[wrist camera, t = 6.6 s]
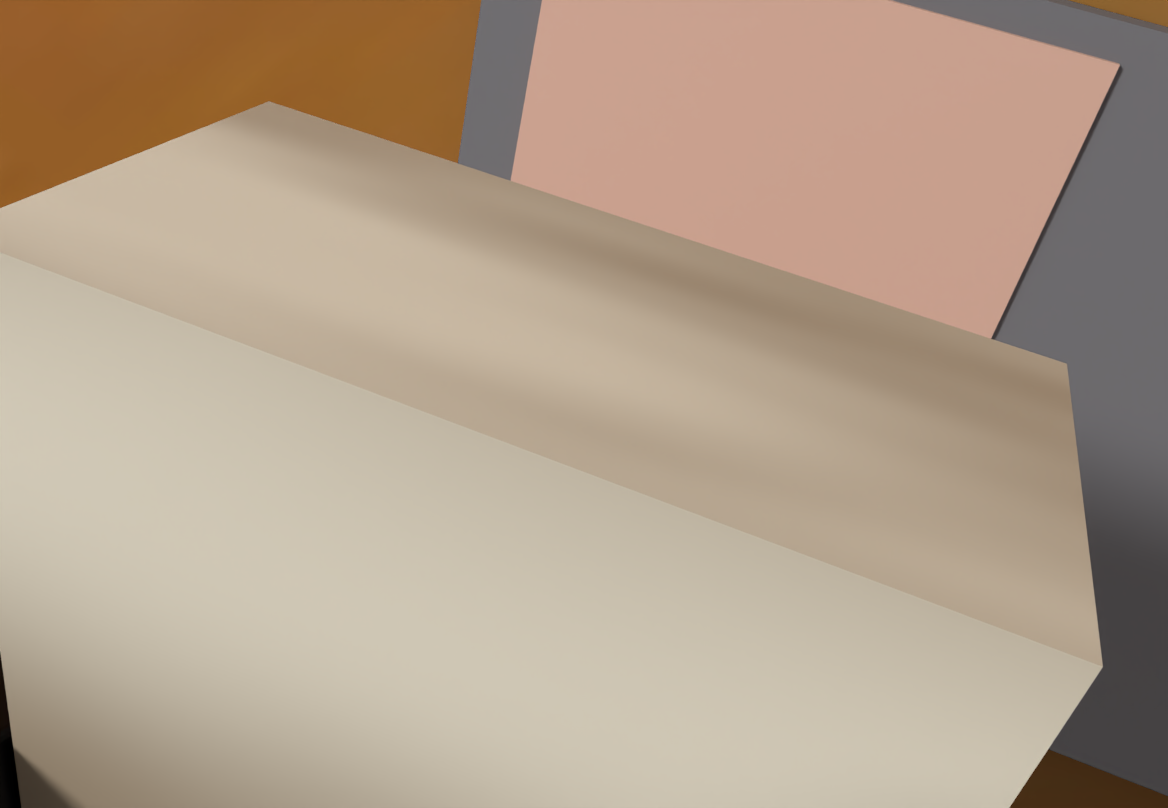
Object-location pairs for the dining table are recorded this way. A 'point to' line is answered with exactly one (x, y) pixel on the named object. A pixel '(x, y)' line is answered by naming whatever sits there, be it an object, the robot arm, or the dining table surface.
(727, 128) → the mat
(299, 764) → the block
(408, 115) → the dining table surface
